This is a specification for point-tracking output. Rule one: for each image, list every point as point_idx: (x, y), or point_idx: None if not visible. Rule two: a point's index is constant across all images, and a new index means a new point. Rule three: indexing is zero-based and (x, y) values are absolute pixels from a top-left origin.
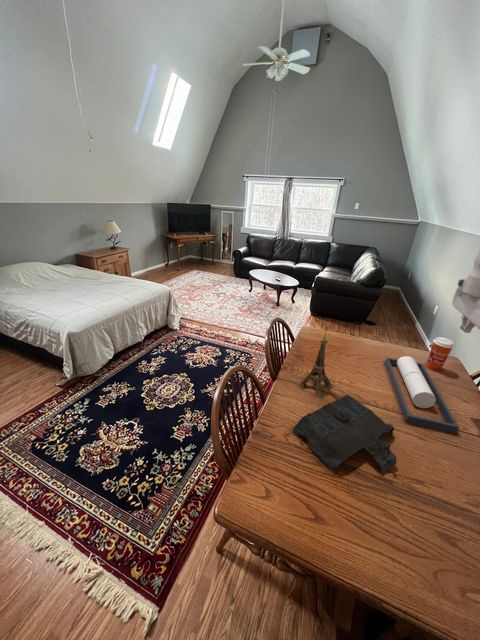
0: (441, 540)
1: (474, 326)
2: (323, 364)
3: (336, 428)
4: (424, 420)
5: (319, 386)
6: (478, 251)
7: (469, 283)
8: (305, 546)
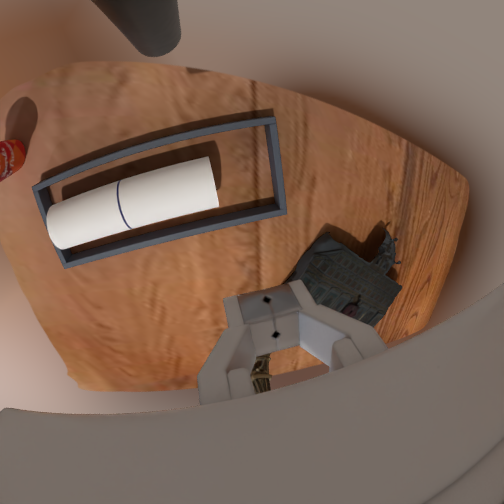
0: (435, 185)
1: (346, 316)
2: (257, 379)
3: (369, 309)
4: (283, 182)
5: None
6: None
7: None
8: (441, 279)
